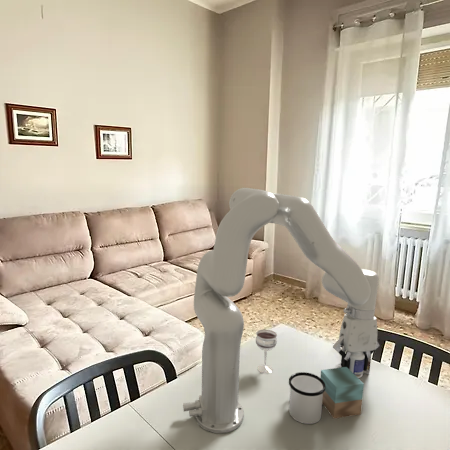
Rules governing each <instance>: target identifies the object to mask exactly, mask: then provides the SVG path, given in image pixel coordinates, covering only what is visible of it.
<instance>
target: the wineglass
mask: <svg viewBox="0 0 450 450" xmlns="http://www.w3.org/2000/svg"><path fill="white" fill-rule="evenodd" d="M255 335H256V337H255V344H256V345H257V347H258V348H259V349H260V350H262V351H263V352H264V364H259V365H258V366H257V371H258V372H260V373H261V374H271V373H272V372H273V370H274V369H273V367H272V366H271V365H268V364H267V358H268V357H267V355H268V352H269V351H272V350H273V349H275V347H276V346H277V344H278V340H277V337H278V334H277V332H275V331H273V330H271V329H259V330H257V331H256V332H255Z"/></svg>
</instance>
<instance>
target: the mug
mask: <svg viewBox="0 0 450 450" xmlns="http://www.w3.org/2000/svg"><path fill="white" fill-rule="evenodd" d="M320 377H321V376H318V375H316V374H314V373H311V372H307V371H306V372H304V371H303V372H301V371H300V372H295V373H293V374H291V375H290V376H289V378H288V385H289V389H290V390H289V393H290V394H289V403H288V405H289V406H288V413H289V415H290V416H291V417H292V418H293V420H295V421H297V422H298V423H302V424H305V425H312V424H316V423H318V422H320V420H321V418H322V412H323V411H322V408H323V404H322V399H323V393H324V391H325V389H326V385H325V382H324V381H323V380H322V379H321V378H320Z"/></svg>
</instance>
